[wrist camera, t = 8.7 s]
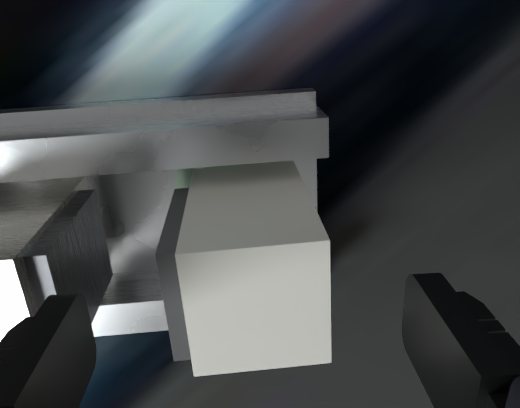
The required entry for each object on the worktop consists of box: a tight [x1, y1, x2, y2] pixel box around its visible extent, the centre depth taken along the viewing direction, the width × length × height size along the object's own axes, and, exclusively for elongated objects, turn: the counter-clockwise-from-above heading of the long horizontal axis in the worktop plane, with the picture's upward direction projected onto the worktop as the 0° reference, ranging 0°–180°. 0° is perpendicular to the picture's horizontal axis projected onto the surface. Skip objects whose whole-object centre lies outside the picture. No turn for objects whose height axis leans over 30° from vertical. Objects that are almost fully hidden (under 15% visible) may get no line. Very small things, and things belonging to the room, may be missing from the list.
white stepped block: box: [0, 88, 329, 341], centre depth 16 cm, size 14×9×8 cm, turn 93°
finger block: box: [155, 161, 331, 377], centre depth 16 cm, size 5×4×7 cm
